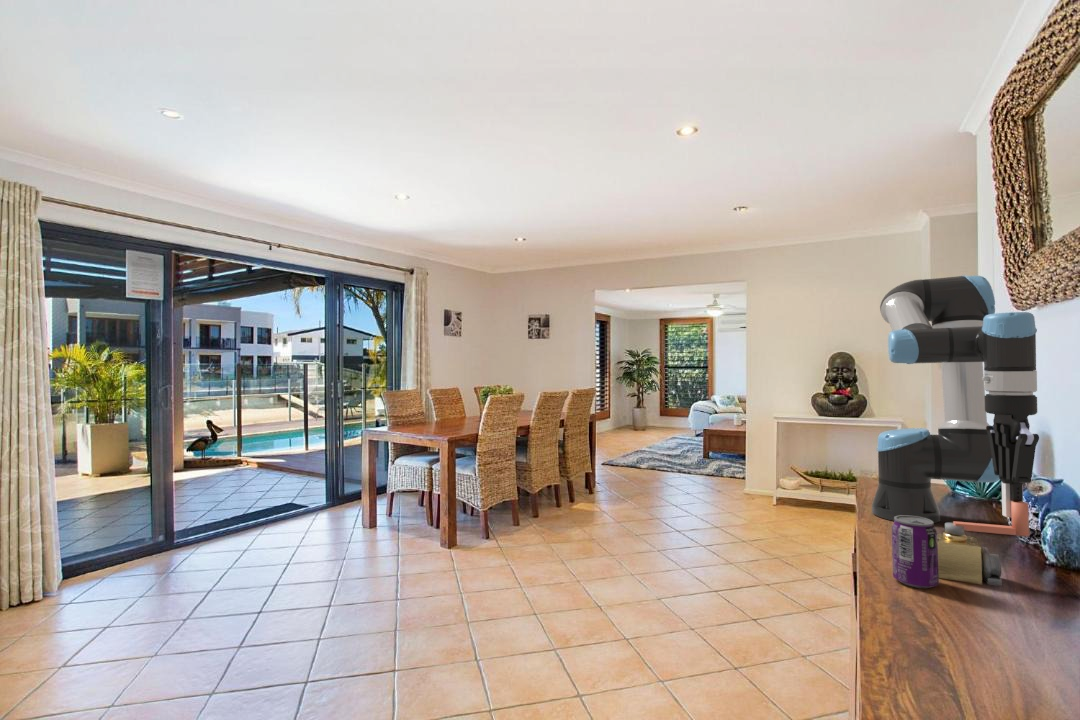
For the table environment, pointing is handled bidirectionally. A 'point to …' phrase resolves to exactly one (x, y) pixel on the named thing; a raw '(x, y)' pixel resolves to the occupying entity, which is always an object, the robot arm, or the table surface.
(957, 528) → the lever
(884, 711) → the table surface
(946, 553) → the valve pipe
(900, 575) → the beverage can
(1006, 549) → the table surface
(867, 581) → the table surface
